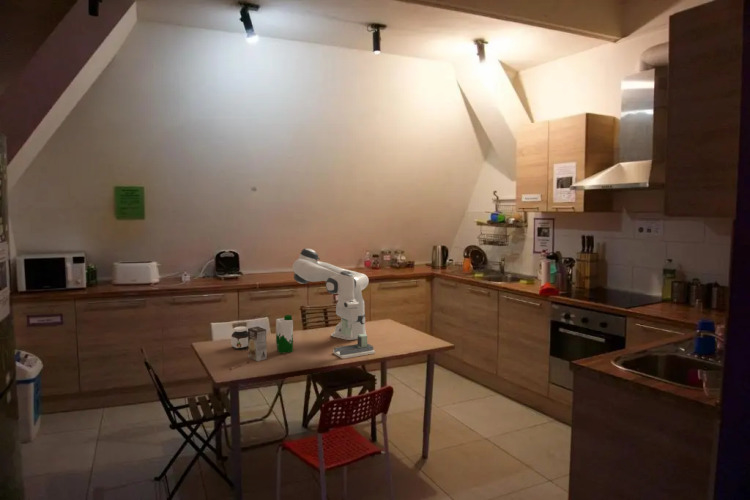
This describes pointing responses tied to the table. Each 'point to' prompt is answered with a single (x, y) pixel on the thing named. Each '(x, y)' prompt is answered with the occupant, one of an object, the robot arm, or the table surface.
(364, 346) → the board
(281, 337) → the milk carton
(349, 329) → the block
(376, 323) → the table surface
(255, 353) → the coffee box
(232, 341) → the spread jar
